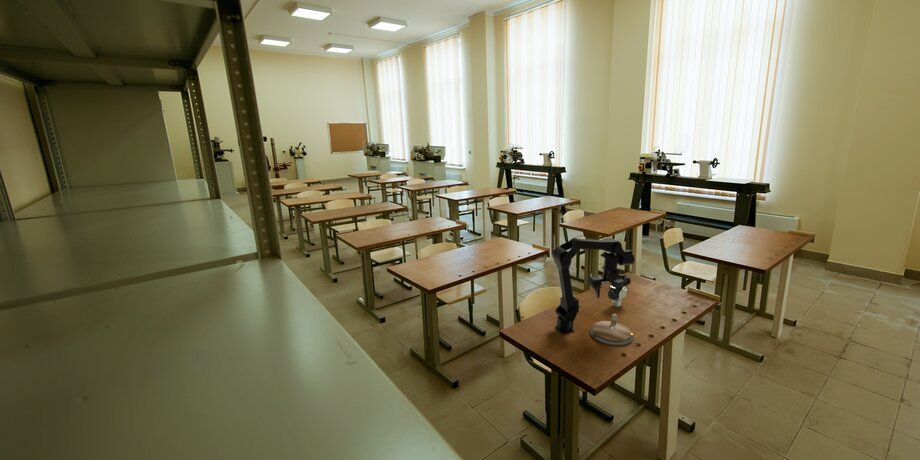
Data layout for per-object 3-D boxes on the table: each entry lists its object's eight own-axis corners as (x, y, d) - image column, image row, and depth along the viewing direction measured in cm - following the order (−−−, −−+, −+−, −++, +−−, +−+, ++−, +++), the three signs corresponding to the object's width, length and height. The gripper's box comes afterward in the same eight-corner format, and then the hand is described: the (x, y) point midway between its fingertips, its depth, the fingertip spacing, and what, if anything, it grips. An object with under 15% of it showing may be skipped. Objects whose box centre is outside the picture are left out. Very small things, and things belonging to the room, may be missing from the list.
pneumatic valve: (606, 307, 198) (607, 285, 195) (618, 300, 205) (620, 279, 202) (616, 311, 194) (618, 289, 191) (628, 304, 201) (630, 282, 198)
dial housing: (606, 349, 162) (606, 346, 162) (582, 328, 179) (582, 325, 179) (642, 341, 167) (642, 338, 167) (615, 322, 184) (615, 319, 183)
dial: (628, 345, 162) (629, 334, 161) (589, 336, 170) (590, 325, 168) (632, 328, 176) (633, 317, 174) (596, 320, 183) (596, 310, 182)
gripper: (600, 273, 167) (597, 306, 171) (640, 271, 170) (635, 303, 174) (588, 264, 177) (585, 296, 181) (625, 262, 180) (621, 293, 184)
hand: (607, 297), depth 180 cm, fingers open, 9 cm apart
